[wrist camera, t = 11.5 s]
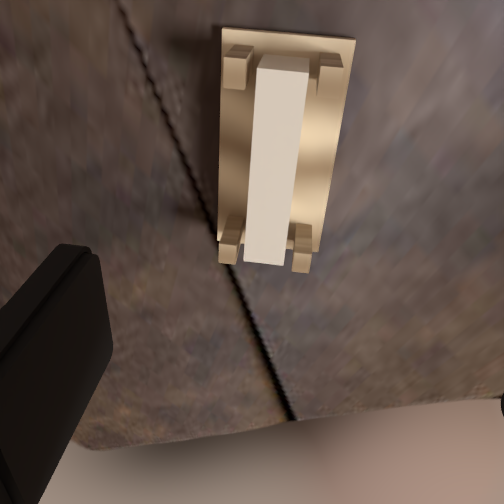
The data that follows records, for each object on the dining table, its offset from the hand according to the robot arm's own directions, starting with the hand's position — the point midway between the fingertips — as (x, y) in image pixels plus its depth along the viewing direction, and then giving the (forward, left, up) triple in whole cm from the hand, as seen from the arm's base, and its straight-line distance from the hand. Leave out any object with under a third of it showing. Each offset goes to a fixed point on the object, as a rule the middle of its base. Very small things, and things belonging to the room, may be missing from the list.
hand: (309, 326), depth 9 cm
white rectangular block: (+8, -2, -29) cm, 30 cm away
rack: (+8, -2, -30) cm, 31 cm away
